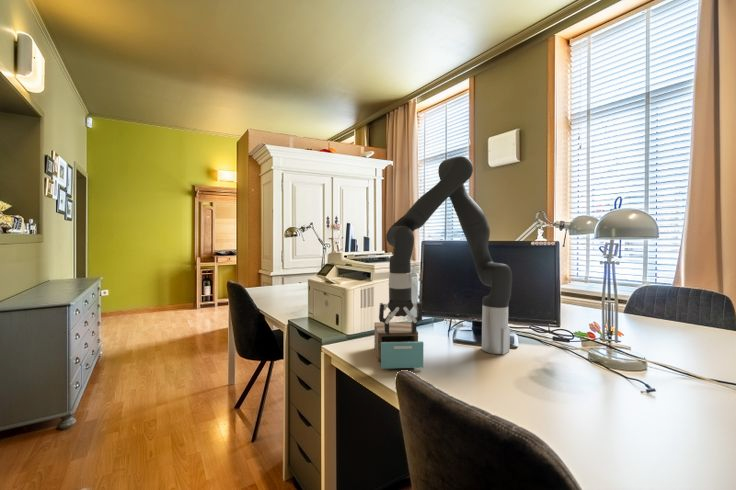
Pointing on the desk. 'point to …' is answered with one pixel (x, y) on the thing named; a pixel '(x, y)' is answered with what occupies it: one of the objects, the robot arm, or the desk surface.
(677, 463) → the desk surface
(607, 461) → the desk surface
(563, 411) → the desk surface
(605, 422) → the desk surface
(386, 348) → the teal pull-out drawer
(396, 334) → the drawer box
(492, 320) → the robot arm
